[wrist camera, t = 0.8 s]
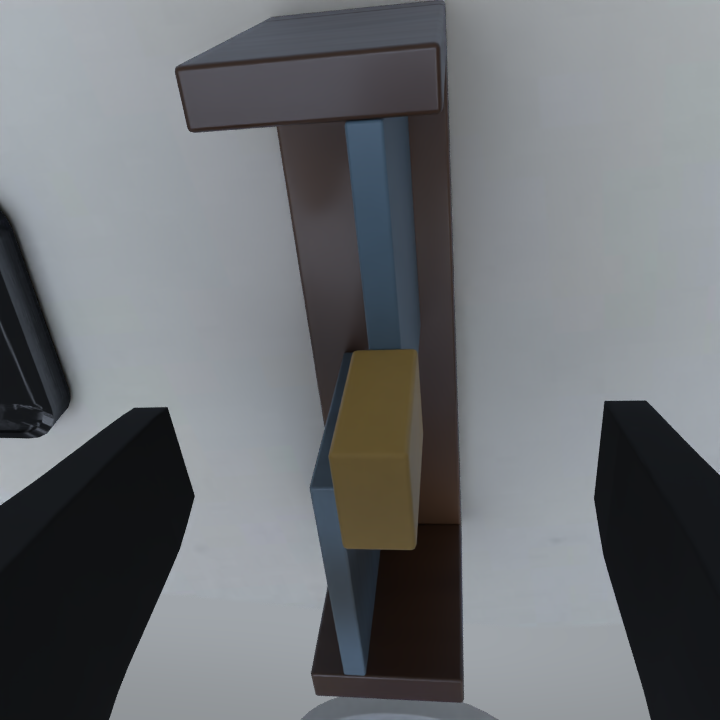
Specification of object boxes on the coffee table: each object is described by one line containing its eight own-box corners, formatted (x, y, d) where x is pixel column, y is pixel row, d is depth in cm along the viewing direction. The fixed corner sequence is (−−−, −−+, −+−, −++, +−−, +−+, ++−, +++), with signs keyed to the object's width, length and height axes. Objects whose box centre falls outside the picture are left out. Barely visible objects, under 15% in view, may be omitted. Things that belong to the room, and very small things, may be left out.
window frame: (269, 16, 16) (171, 66, 10) (445, -1, 15) (441, 41, 10) (346, 522, 24) (315, 696, 19) (461, 523, 23) (464, 704, 18)
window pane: (363, 63, 15) (282, 187, 8) (418, 58, 15) (386, 181, 8) (387, 326, 18) (346, 576, 11) (432, 325, 18) (418, 577, 11)
